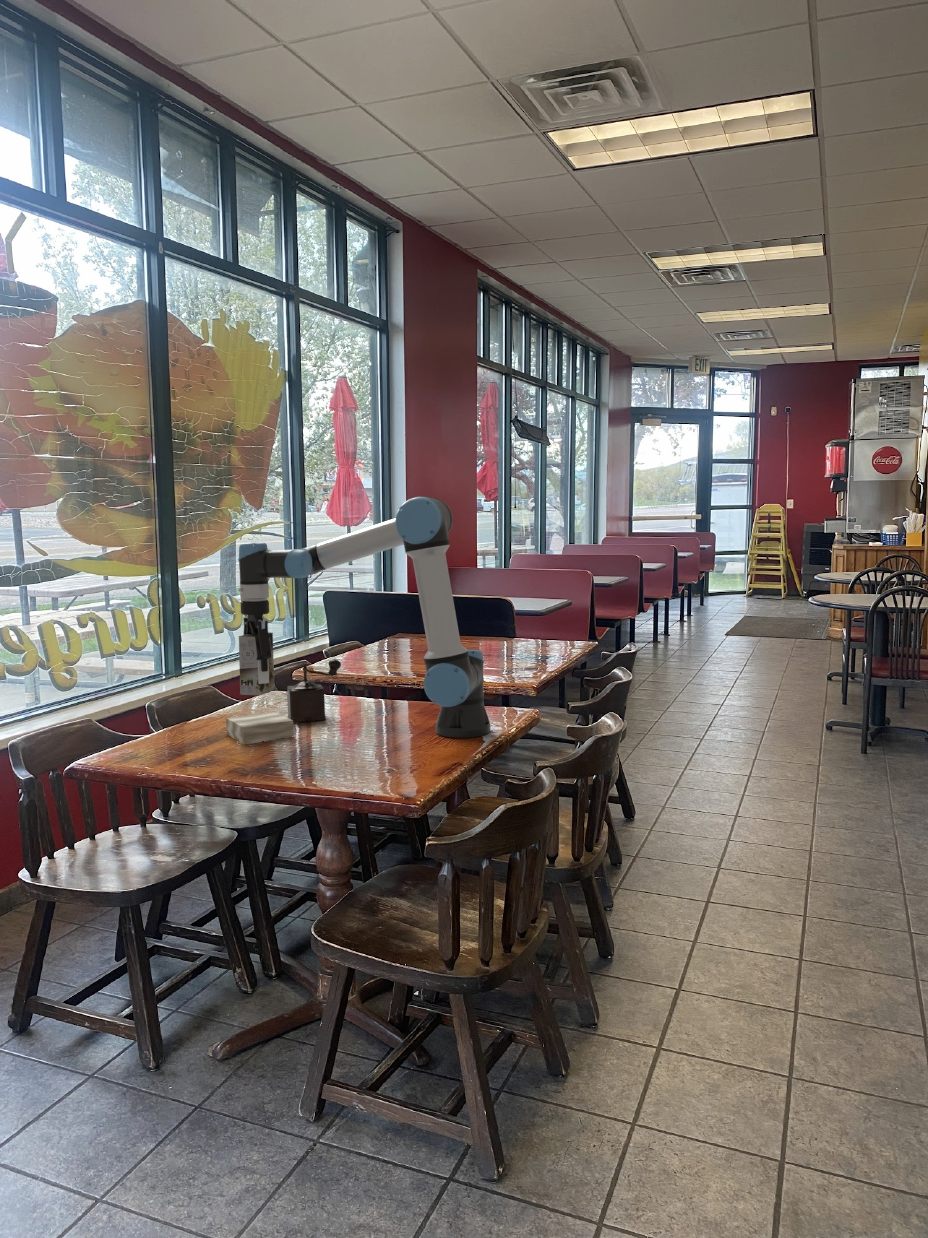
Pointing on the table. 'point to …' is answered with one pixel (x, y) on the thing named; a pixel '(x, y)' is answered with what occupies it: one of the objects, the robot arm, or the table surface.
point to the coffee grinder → (309, 696)
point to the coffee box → (253, 666)
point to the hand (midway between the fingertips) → (257, 680)
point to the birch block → (259, 727)
